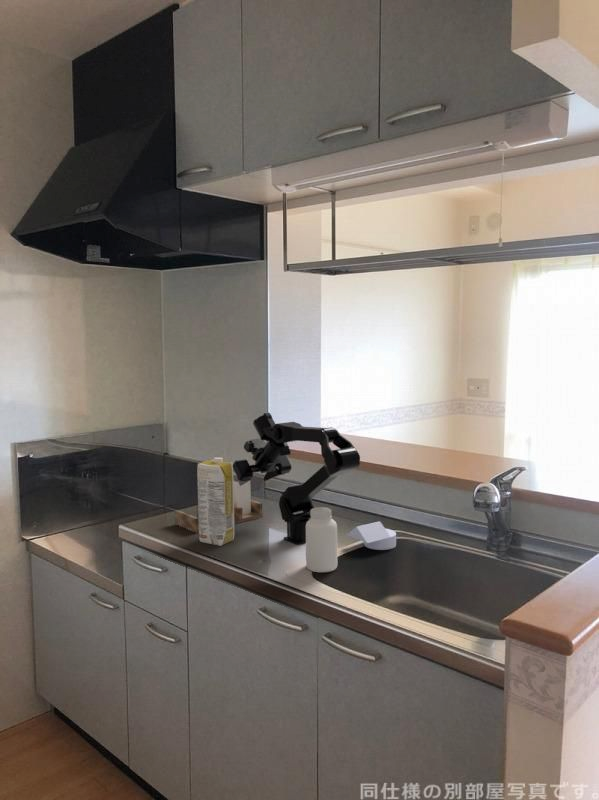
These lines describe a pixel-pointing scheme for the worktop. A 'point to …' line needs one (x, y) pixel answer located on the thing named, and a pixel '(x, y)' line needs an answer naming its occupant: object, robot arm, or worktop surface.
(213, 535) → the juice carton
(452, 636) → the worktop surface
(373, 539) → the wedge on round base
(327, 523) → the pill bottle
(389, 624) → the worktop surface
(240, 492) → the grey piece
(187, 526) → the comb rack
